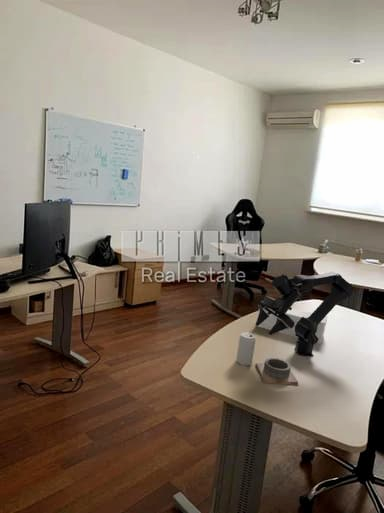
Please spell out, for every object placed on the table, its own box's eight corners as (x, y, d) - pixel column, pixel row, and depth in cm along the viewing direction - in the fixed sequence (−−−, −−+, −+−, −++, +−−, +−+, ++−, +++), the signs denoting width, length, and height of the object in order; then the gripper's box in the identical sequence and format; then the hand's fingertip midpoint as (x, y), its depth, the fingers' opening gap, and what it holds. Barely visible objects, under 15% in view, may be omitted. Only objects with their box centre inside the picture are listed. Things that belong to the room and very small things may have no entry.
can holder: (286, 367, 155) (288, 356, 154) (298, 384, 142) (300, 373, 141) (255, 365, 153) (257, 354, 152) (264, 382, 141) (265, 371, 140)
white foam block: (323, 336, 192) (327, 316, 189) (320, 344, 182) (324, 323, 180) (261, 320, 204) (264, 301, 202) (256, 326, 195) (259, 306, 193)
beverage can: (251, 367, 151) (255, 339, 148) (235, 364, 152) (239, 336, 149) (252, 360, 157) (256, 333, 154) (236, 357, 158) (240, 330, 156)
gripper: (262, 282, 163) (239, 310, 161) (291, 297, 146) (265, 328, 145) (276, 297, 168) (253, 324, 166) (305, 313, 152) (280, 343, 150)
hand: (262, 329), depth 157 cm, fingers open, 9 cm apart
